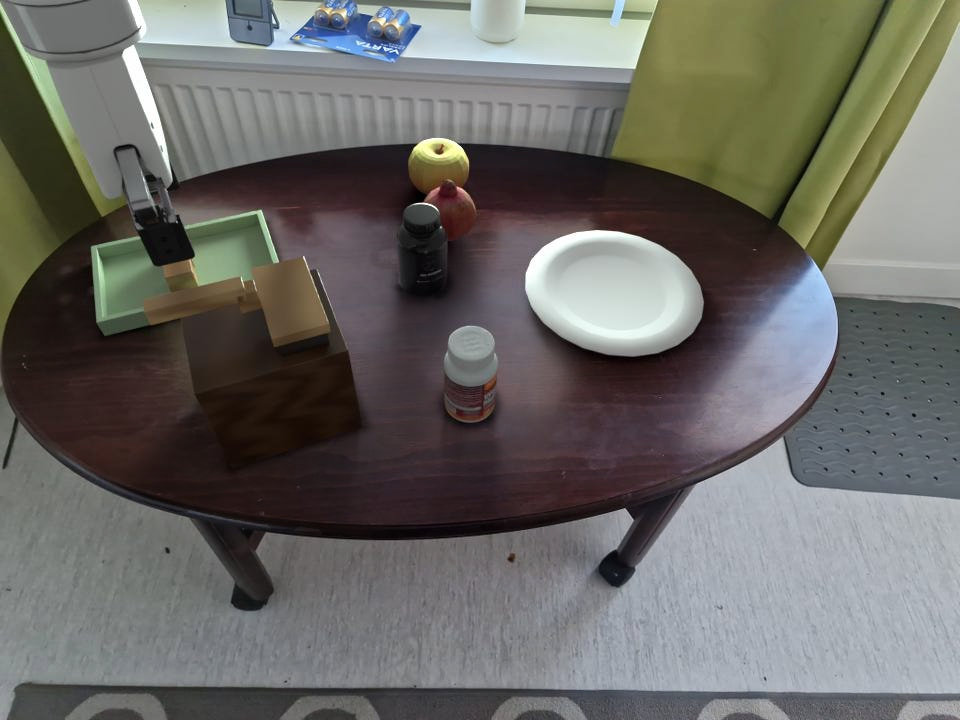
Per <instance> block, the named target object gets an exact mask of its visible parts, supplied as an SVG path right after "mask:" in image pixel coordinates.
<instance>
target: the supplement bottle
mask: <svg viewBox="0 0 960 720" xmlns="http://www.w3.org/2000/svg"><path fill="white" fill-rule="evenodd" d="M395 241H396V242H395V243H396V257H397V259H396V260H397V271H398V272H397V275H398V283H399V286H400V288H401V289H402V290H403V291H404V292H405V293H407V294H408V295H410V296H412V297H418V298H429V297H433V296H435V295H438V294H439V293H441V292H442V291H443V290H444V288H445V287H446V284H447V280H448V242H449V241H448V239H447V233H446V231H445V229H444V228H443V226H442V225H441V222H440V213H439V211H438V209H437V208H436V207H434V206H432V205H429V204H425V203H423V202H418V203H413V204H410V205H409V206H407V207H406V208H405V209H404V210H403V213H402V225H400V227H399V228H398V230H397V233H396V240H395Z"/></svg>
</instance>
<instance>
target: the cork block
mask: <svg viewBox="0 0 960 720" xmlns="http://www.w3.org/2000/svg"><path fill="white" fill-rule="evenodd" d="M163 271H164V277H165V280H166V282H167V284H168V286H169V288H170V291H171V293H172V292H176V291H181V290H185V289H189V288H193V287H197V286H199V283H198V279H197V274H196V272H195V269H194V267H193V264H192V262H191V259H189V260H185V261H181V262H177V263H172V264H168V265H164V266H163Z"/></svg>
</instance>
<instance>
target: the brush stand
mask: <svg viewBox="0 0 960 720" xmlns="http://www.w3.org/2000/svg"><path fill="white" fill-rule="evenodd" d="M309 271H310V274H311V277H312V279H313V282H314V285H315V287H316V290H317V293H318V295H319V298H320V301H321V303H322V306H323V309H324V311H325V314H326V317H327V319H328V322H329V326H330V330H331V332H328V337H329V342H330V344H327V345H323V346H320V347H316V348H312V349H309V350H305V351H302V352H298V353H294V354H291V355H287V356H284V357H280V354H279V350H278V347H274V345H273V342H272V339H271V336H270V332H269V329H268V326H267V322H266V319H265V315H264V312H263V309H262V308H261V309H257V310H254V311H250V312H246V313H242V312H241V310H240V307H239V304H234V305H230V306H226V307H222V308H218V309H214V310H210V311H206V312H202V313H198V314H194V315H190V316H186V317H182V318H179V320H180V324H181V329H182V330H181V331H182V335H183V341H184V347H185V351H186V357H187V363H188V368H189V373H190V378H191V384H192V388H193V389H192V390H193V395H194V396H195V398H196V400H197V402H198V404H199V407H200V408H201V410H202V412H203V414H204V416H205V418H206V421H207V422H208V423H209V425H210V428H211V429H212V431H213V433H214V435H215V437H216V439H217V441H218V443H219V444H220V447H221V449H222V451H223V453H224V455H225V457H226V459H227V461H228V462H229V463H228V464H229V465H230V466H231V468H232V469H235V468H238V467H241V466H245V465H248V464H251V463H254V462H256V461H260V460H263V459H266V458H270V457H273V456H276V455H280V454H283V453H285V452H289V451H291V450H295V449H298V448H301V447H305V446H307V445H310V444H313V443H317V442H320V441H323V440H326V439H329V438H333V437H336V436H339V435H342V434H345V433H348V432H352V431H354V430H357V429H360V428H363V427H364V426H363V421H362V416H361V410H360V405H359V400H358V395H357V388H356V383H355V379H354V374H353V373H354V372H353V368H352V363H351V357H350V351H349V348H348V346H347V342H346V340H345V338H344V335H343V333H342V330H341V327H340V325H339V322H338V320H337V318H336V314H335V312H334V310H333V306H332V304H331V301H330V299H329V297H328V294H327V291H326V289H325V286H324V284H323V281H322V278H321V275H320V273H319V271H318V269H317V268H314V269H309ZM255 286H256V285H255ZM256 289H257V288H256Z"/></svg>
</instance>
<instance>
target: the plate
mask: <svg viewBox="0 0 960 720" xmlns="http://www.w3.org/2000/svg"><path fill="white" fill-rule="evenodd" d="M524 287H525V289H524V290H525V294H526V297H527V300H528V303H529V306H530V308H531V309H532V311H533V312H534V314H535V315H536V316H537V318H538V319H539V320H540V321H541V323H542V324H543V325H544V326H545V327H546V328H548V329H549V330H550V331H552V332H553V333H554V334H555V335H557V336H558V337H559V338H560V339H563V340H564V341H566V342H568V343H570V344H572V345H574V346H576V347H578V348H581V349H582V350H586V351H590V352H592V353H597V354H601V355H604V356H608V357H623V358H637V357H644V356H645V357H647V356H652V355H658V354H660V353H663V352H665V351H668V350H671V349H673V348H675V347H678V346H679V345H680V344H682V343H683V342H685V340H687V339H688V338H689V337H690V336H691V335H693V333H694V332H695V330H696V328H697V327H698V325H699V323H700V322H701V320H702V317H703V312H704V305H705V301H704V300H705V299H704V297H703V292H702V287H701V284H700V283H699V281H698V279H697V278H696V277H695V274H694V273H693V271H692V270H691V268H689V267H688V266H687V265H686V264H685V262H683V260H681V258H680V257H678V256H677V255H675V253H673V252H671V251H669V250H668V249H666V248H665V247H663V246H662V245H660V244H658V243H656V242H653V241H651V240H648V239H646V238H643V237H641V236H639V235H634V234H630V233H626V232H621V231H612V230H598V229H596V230H588V231H578V232H573V233H571V234H567V235H564V236H561V237H559V238H556V239H554V240H553V241H551V242H550V243H548V244H546V245H544V246H543V247H542V248H541V249H540V250H539V251H538V252H537V253H536V254H535V255H534V257H533V258H531V260H530V262H529V266H528V267H527V270H526V272H525V286H524Z"/></svg>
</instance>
